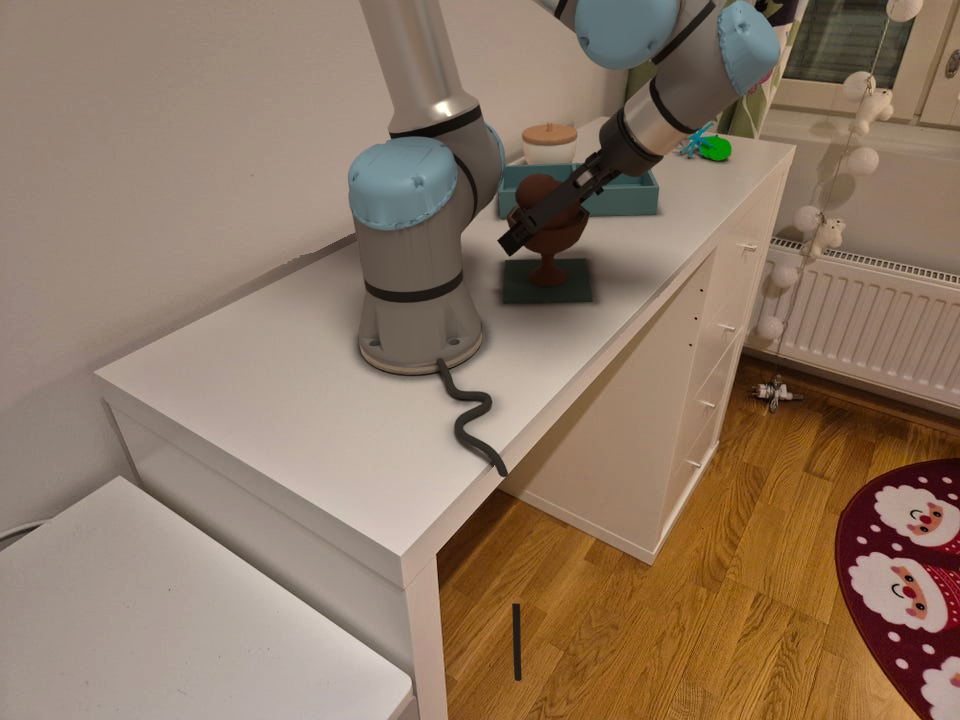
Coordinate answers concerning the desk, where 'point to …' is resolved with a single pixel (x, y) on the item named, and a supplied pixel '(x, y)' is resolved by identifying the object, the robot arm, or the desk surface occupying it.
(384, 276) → the robot arm
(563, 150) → the trinket box
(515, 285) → the mat
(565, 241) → the ice cream bowl
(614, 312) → the desk surface
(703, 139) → the stick construction toy
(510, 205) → the divided tray
